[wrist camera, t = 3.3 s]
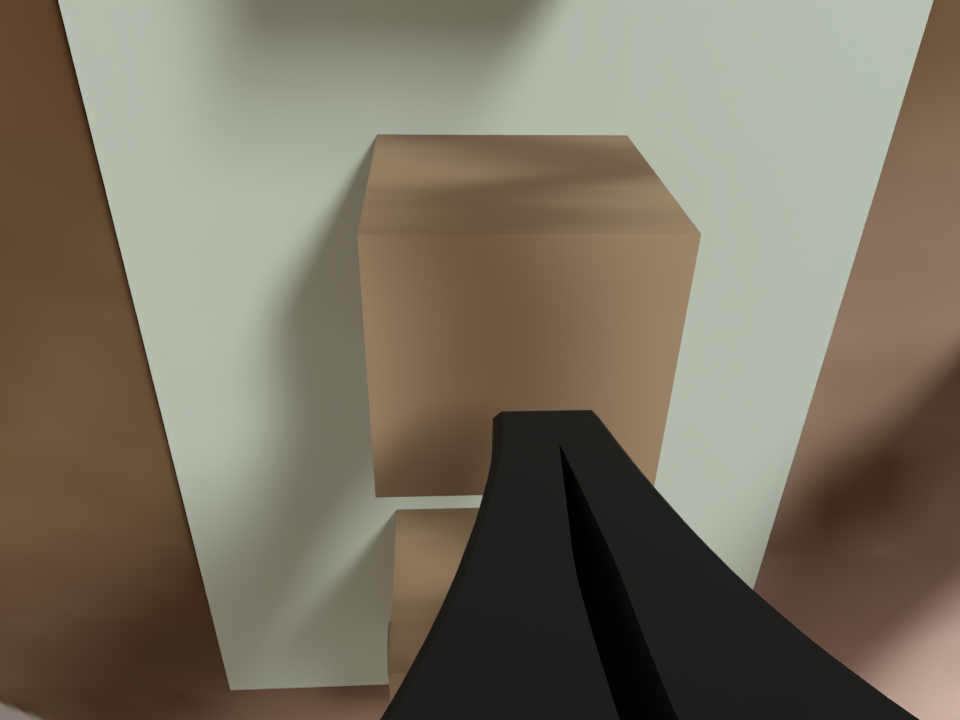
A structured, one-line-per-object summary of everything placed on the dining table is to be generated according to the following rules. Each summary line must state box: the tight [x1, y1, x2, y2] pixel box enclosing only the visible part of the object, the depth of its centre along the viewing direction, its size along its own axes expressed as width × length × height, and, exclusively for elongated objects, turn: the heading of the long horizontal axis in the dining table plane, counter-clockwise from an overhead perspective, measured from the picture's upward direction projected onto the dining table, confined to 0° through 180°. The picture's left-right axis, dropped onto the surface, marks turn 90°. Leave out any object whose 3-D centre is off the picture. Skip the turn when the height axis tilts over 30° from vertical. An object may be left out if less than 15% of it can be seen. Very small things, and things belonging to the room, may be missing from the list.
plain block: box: [357, 134, 701, 498], centre depth 15 cm, size 5×5×5 cm
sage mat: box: [58, 0, 933, 690], centre depth 17 cm, size 16×30×1 cm, turn 179°
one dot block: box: [387, 508, 479, 703], centre depth 20 cm, size 5×5×5 cm
